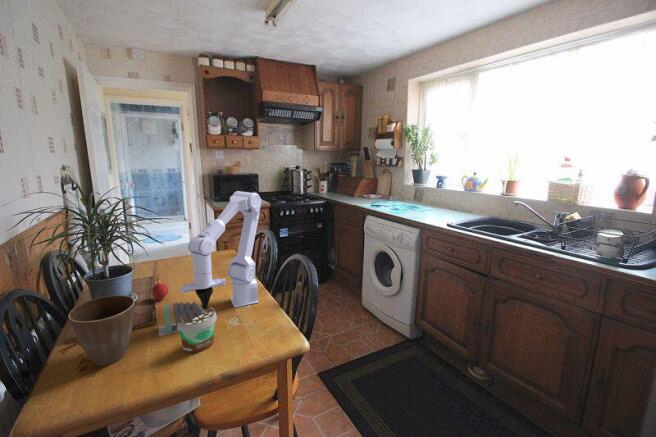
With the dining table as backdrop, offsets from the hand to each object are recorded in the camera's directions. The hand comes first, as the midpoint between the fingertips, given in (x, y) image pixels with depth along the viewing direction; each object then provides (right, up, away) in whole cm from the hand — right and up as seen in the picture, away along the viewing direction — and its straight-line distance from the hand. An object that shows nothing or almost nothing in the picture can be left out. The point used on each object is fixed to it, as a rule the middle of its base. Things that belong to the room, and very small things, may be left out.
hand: (204, 307), depth 109 cm
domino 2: (-8, -6, -3) cm, 10 cm away
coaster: (-10, -6, -4) cm, 13 cm away
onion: (-24, -2, +16) cm, 29 cm away
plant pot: (-20, -9, -19) cm, 29 cm away
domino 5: (+1, -5, +1) cm, 5 cm away
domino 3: (-5, -5, -1) cm, 7 cm away
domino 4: (-2, -5, 0) cm, 6 cm away
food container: (+5, -9, -13) cm, 16 cm away
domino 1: (-10, -6, -4) cm, 13 cm away
